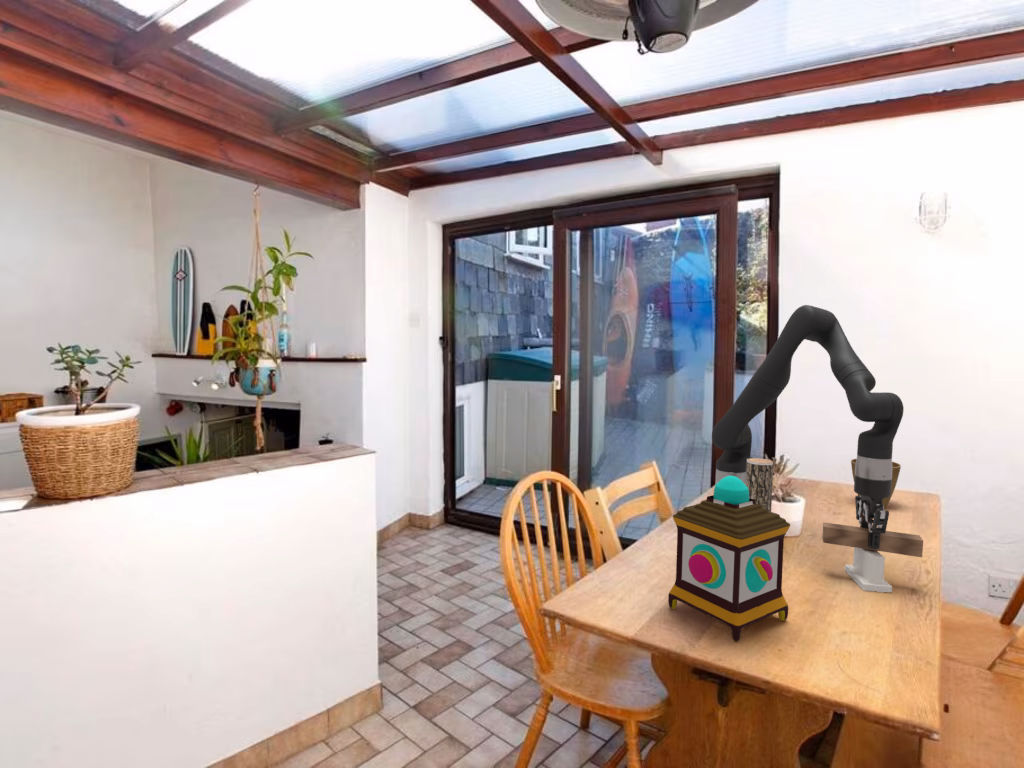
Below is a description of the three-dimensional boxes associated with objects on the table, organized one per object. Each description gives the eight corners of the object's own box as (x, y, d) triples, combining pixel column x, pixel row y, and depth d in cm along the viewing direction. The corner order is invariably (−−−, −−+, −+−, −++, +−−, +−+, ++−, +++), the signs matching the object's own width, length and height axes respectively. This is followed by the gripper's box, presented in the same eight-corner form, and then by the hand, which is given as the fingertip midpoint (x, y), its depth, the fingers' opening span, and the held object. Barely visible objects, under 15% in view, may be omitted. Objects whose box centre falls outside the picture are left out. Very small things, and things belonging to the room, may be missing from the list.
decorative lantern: (717, 586, 132) (721, 461, 129) (798, 622, 115) (805, 479, 113) (658, 607, 121) (662, 471, 119) (738, 649, 104) (744, 493, 102)
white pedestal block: (862, 590, 130) (864, 557, 129) (844, 570, 142) (846, 539, 141) (891, 593, 129) (893, 559, 128) (870, 572, 140) (872, 541, 140)
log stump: (769, 545, 158) (773, 459, 156) (769, 554, 152) (773, 464, 150) (743, 542, 161) (747, 457, 159) (742, 549, 155) (746, 461, 153)
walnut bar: (823, 542, 137) (824, 526, 137) (822, 537, 141) (823, 522, 140) (922, 557, 128) (923, 540, 128) (918, 551, 132) (919, 535, 131)
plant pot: (850, 498, 208) (852, 456, 207) (898, 505, 200) (901, 461, 198) (846, 507, 196) (849, 463, 195) (897, 515, 188) (900, 469, 186)
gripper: (904, 483, 125) (899, 556, 127) (878, 469, 139) (874, 535, 141) (867, 481, 127) (863, 553, 128) (845, 467, 141) (841, 533, 142)
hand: (869, 543), depth 134 cm, fingers closed on walnut bar, 4 cm apart
